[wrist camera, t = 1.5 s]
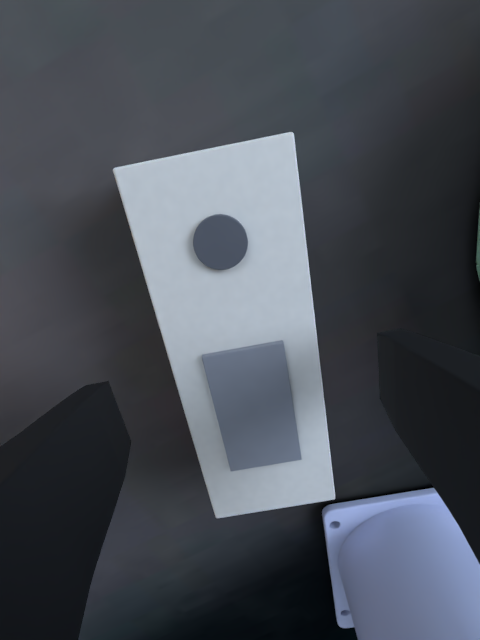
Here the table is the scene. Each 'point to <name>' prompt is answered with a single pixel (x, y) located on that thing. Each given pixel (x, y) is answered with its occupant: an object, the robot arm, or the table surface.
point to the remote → (237, 316)
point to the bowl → (478, 248)
